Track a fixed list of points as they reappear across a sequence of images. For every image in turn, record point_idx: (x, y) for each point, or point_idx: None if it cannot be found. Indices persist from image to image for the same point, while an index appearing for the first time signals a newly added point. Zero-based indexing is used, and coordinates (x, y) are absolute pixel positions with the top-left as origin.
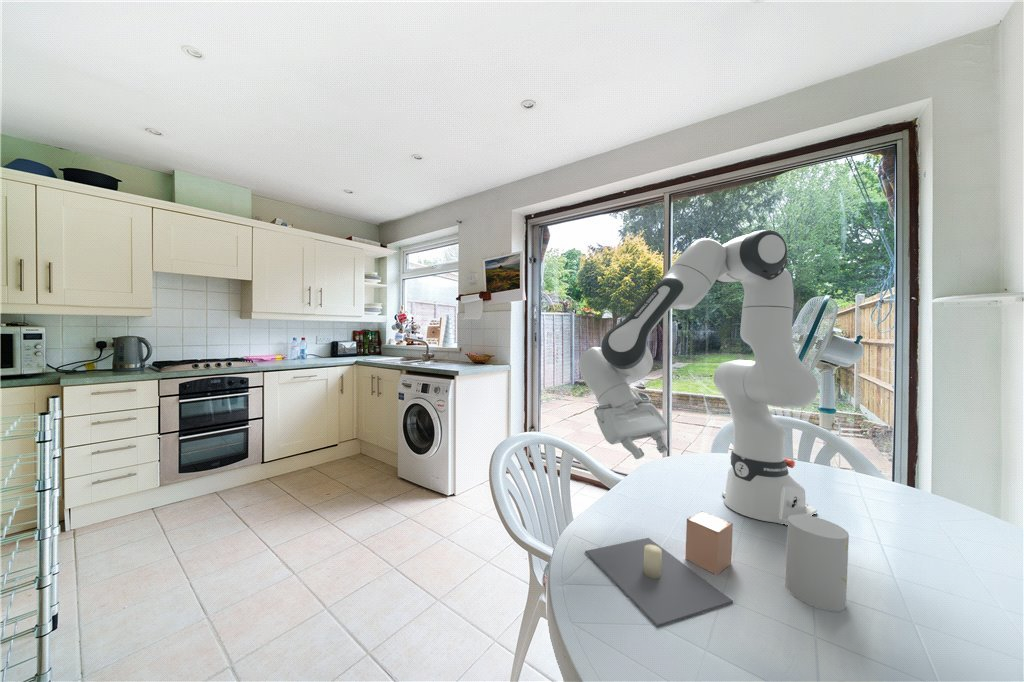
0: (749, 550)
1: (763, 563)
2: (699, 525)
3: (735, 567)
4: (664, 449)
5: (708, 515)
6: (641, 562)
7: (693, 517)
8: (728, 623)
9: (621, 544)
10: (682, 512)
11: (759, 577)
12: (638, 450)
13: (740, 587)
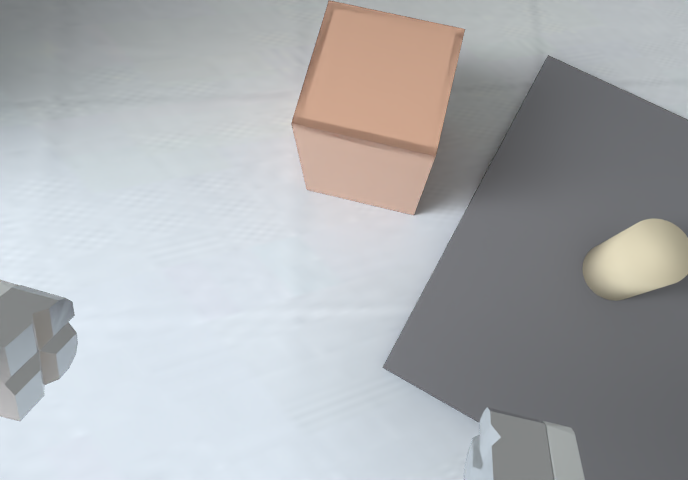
0: (194, 63)
1: (254, 21)
2: (447, 103)
3: None
4: (65, 302)
5: (321, 90)
6: (580, 323)
7: (396, 136)
8: (641, 55)
9: None
10: None
11: None
12: (571, 475)
13: None
